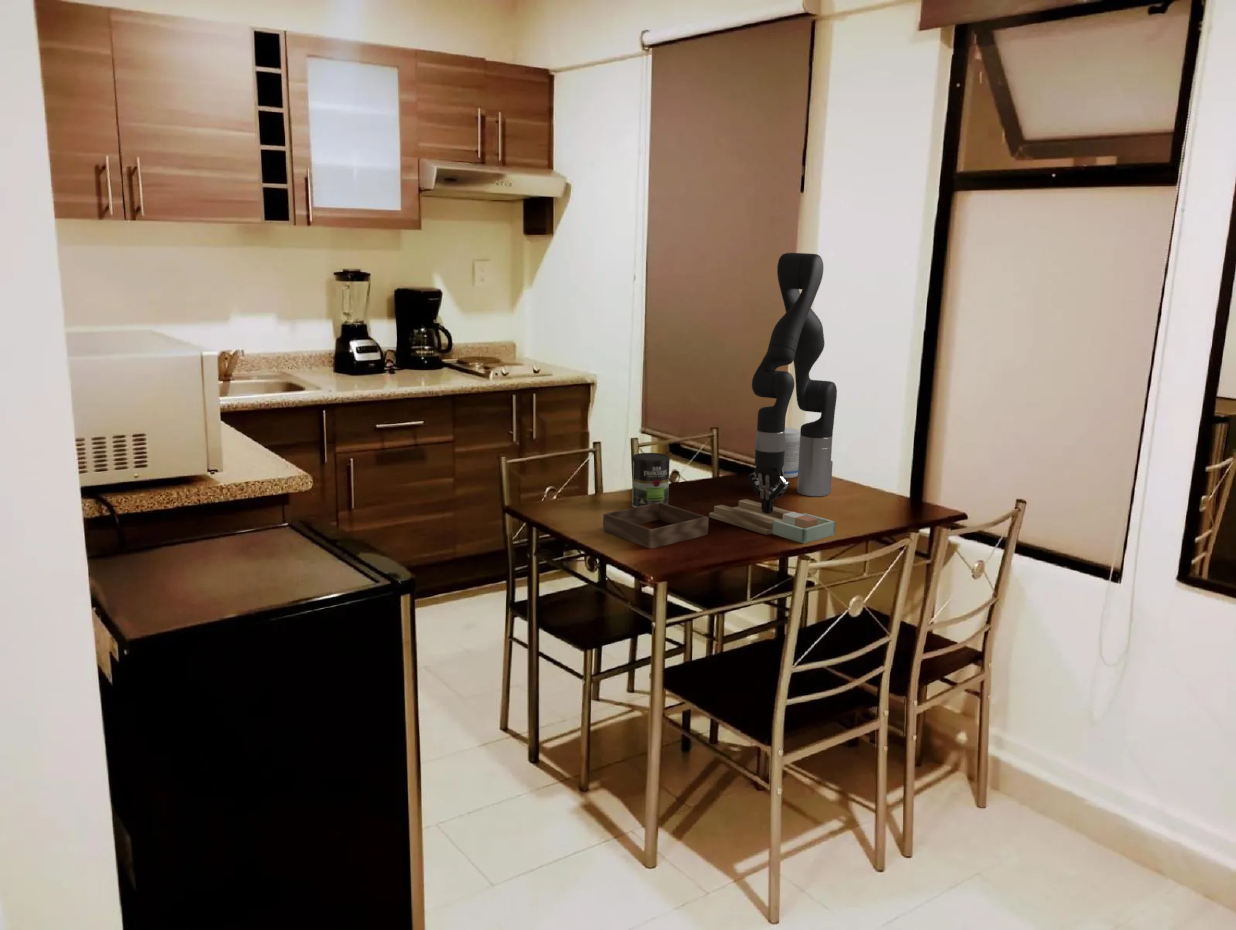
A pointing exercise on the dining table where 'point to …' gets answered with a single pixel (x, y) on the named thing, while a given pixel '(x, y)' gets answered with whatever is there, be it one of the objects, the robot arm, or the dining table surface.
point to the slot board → (745, 524)
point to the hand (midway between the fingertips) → (766, 512)
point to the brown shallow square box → (680, 530)
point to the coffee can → (650, 479)
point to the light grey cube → (790, 518)
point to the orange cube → (806, 521)
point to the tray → (805, 530)
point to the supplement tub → (791, 453)
